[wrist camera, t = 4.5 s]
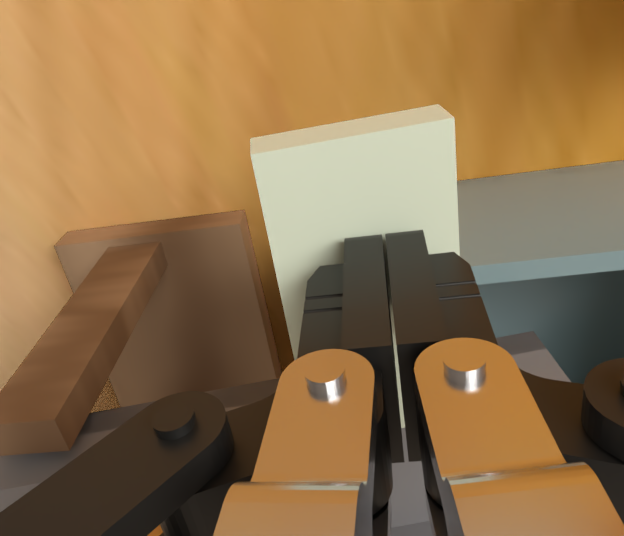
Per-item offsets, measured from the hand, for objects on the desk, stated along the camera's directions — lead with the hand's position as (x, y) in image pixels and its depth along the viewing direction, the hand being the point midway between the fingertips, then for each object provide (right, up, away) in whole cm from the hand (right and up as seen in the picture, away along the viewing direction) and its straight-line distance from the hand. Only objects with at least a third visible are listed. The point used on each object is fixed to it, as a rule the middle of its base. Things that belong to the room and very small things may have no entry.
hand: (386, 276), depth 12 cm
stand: (-7, -2, +13) cm, 15 cm away
